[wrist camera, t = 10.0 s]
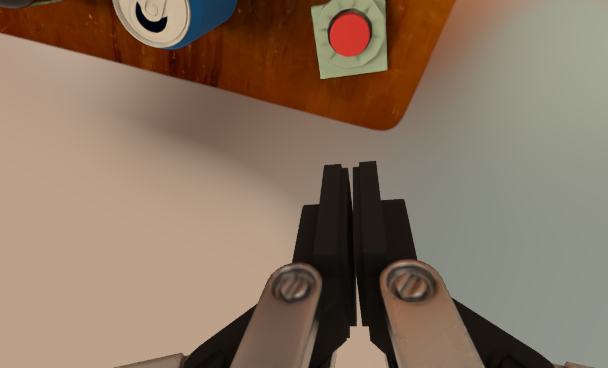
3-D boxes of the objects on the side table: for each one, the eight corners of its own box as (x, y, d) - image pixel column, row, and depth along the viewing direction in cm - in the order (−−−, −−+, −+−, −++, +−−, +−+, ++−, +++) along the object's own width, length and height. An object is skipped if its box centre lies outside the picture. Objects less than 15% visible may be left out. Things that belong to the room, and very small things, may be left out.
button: (328, 14, 31) (327, 18, 30) (367, 8, 31) (368, 11, 29) (332, 54, 33) (332, 59, 32) (369, 49, 33) (370, 53, 31)
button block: (310, -3, 33) (307, 1, 30) (383, -16, 32) (386, -13, 29) (321, 75, 37) (319, 84, 35) (386, 66, 36) (388, 75, 33)
